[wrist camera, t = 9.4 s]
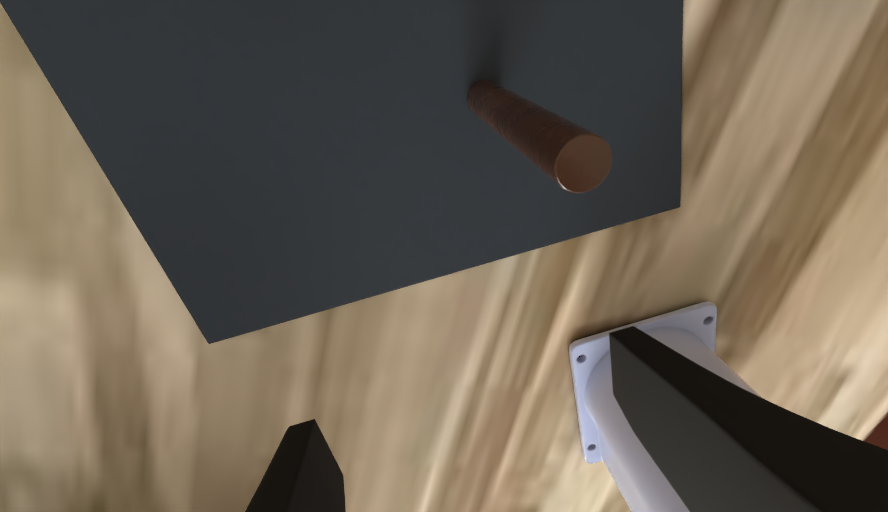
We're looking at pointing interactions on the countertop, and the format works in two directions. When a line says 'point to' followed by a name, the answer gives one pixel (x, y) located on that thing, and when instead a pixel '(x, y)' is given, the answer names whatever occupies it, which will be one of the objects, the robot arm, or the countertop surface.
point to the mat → (354, 134)
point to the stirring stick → (543, 137)
